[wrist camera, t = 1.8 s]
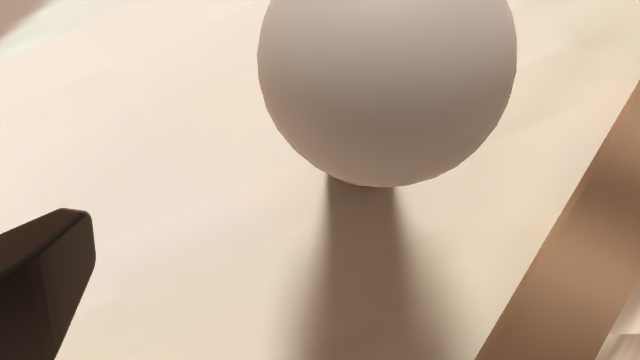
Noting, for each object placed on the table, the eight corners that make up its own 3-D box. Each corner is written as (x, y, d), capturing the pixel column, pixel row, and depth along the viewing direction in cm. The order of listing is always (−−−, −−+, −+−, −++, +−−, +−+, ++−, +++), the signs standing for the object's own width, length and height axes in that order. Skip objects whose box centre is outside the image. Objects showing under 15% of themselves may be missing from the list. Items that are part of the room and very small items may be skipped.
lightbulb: (334, 272, 21) (361, 203, 10) (245, 136, 22) (185, -55, 11) (471, 183, 22) (629, 31, 11) (379, 56, 23) (438, -188, 12)
